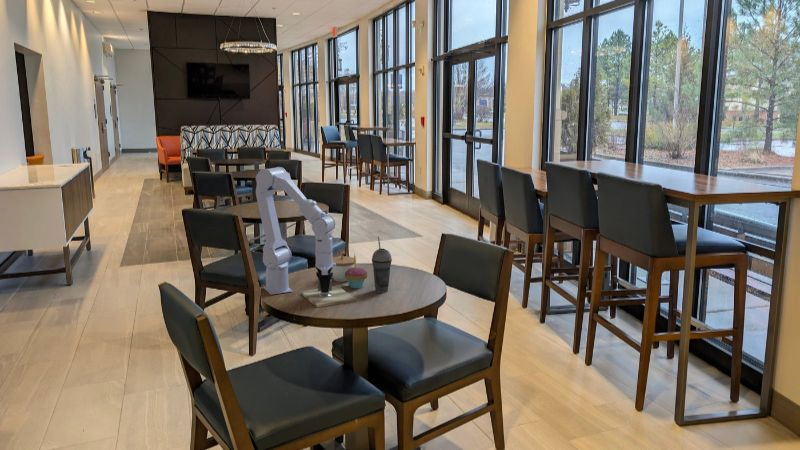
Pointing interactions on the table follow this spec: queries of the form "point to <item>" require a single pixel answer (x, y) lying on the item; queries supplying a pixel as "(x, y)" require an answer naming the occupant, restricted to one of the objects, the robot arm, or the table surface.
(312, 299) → the board
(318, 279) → the cap
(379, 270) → the beverage cup
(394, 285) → the table surface
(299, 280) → the table surface
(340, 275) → the lidded jar
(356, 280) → the cupcake
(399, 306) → the table surface
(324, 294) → the stud
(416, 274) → the table surface
